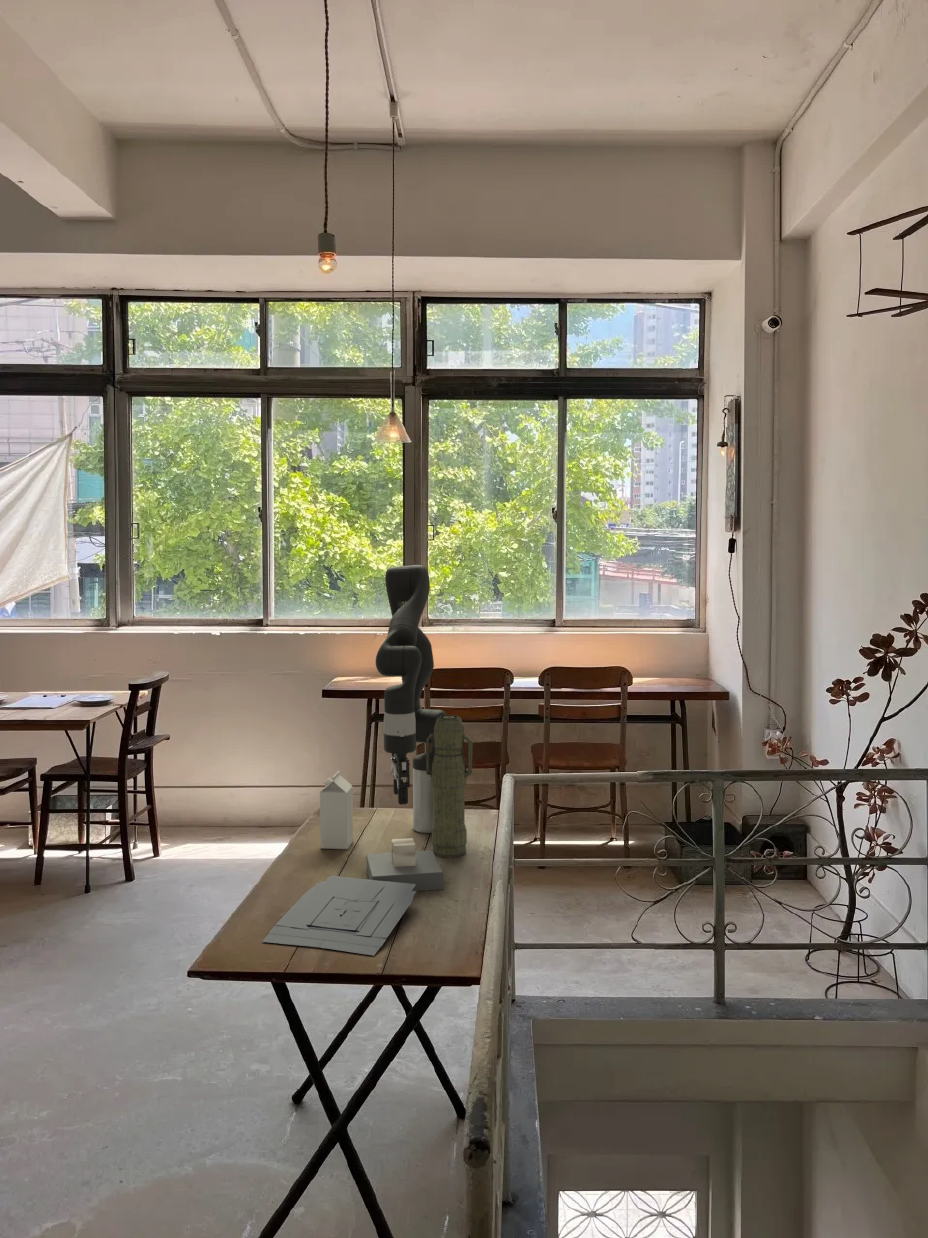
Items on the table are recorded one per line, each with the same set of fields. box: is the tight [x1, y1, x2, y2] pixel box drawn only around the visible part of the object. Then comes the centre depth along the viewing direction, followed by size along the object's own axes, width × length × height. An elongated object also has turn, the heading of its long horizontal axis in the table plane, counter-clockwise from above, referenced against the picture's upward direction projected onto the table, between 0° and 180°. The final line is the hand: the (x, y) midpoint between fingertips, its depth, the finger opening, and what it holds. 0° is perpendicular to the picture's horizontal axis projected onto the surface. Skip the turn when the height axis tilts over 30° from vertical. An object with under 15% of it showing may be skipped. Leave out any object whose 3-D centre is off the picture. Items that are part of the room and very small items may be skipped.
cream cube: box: [391, 837, 416, 867], centre depth 231 cm, size 5×5×5 cm
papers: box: [261, 874, 418, 957], centre depth 206 cm, size 24×30×4 cm
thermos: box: [425, 714, 474, 859], centre depth 250 cm, size 9×12×35 cm
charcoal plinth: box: [366, 849, 444, 892], centre depth 231 cm, size 16×16×4 cm
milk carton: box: [319, 770, 354, 850], centre depth 256 cm, size 7×7×19 cm
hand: (400, 799), depth 231 cm, fingers open, 8 cm apart
